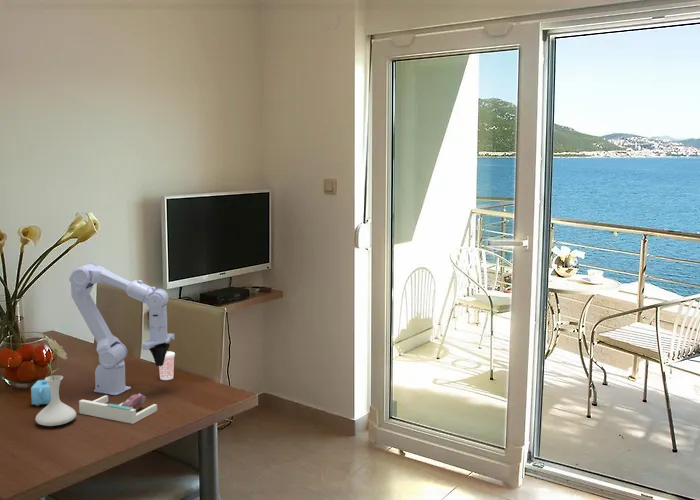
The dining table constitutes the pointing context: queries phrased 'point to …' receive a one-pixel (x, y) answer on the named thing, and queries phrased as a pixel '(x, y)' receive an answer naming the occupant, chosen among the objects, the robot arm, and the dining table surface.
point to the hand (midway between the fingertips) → (159, 365)
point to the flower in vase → (55, 397)
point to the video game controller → (135, 401)
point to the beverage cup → (167, 366)
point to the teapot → (40, 393)
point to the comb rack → (113, 410)
